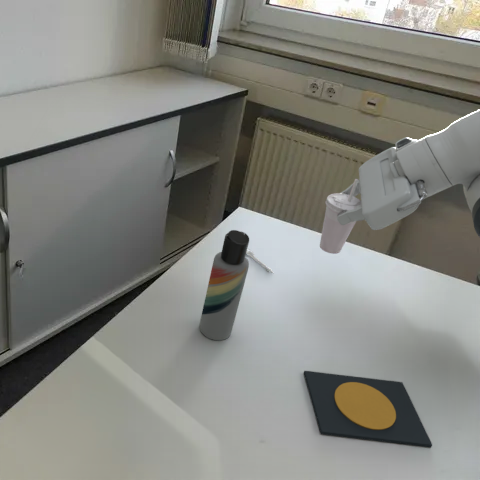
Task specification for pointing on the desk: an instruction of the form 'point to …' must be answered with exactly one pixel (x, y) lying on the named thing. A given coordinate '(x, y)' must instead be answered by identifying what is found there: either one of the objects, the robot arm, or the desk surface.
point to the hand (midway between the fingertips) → (338, 209)
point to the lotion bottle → (225, 287)
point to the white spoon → (259, 261)
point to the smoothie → (332, 229)
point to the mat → (365, 409)
